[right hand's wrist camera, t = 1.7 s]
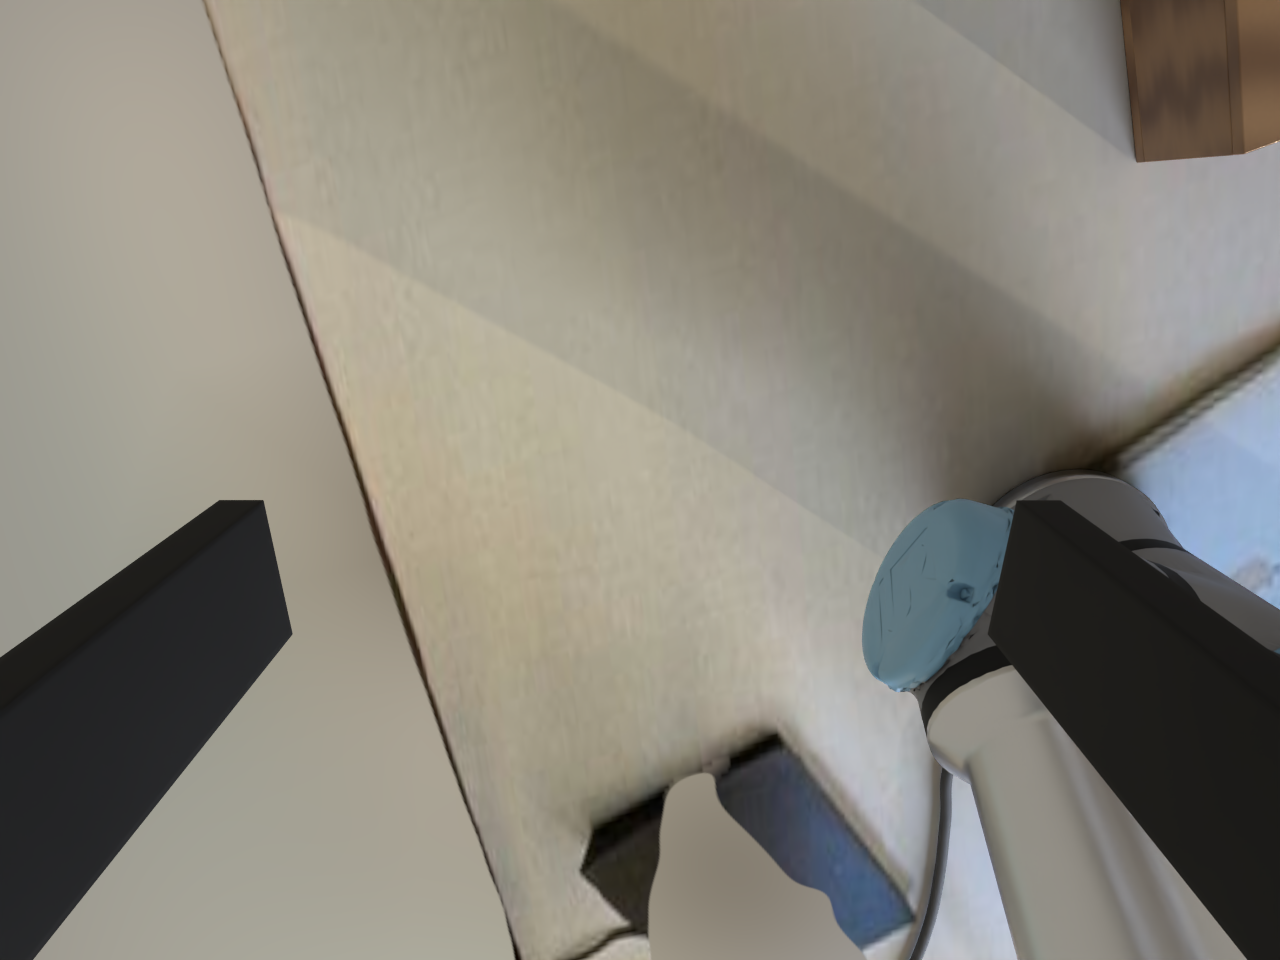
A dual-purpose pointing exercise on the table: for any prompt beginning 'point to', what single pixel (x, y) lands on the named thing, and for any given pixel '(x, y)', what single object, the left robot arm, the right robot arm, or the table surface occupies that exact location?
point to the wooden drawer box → (1202, 76)
